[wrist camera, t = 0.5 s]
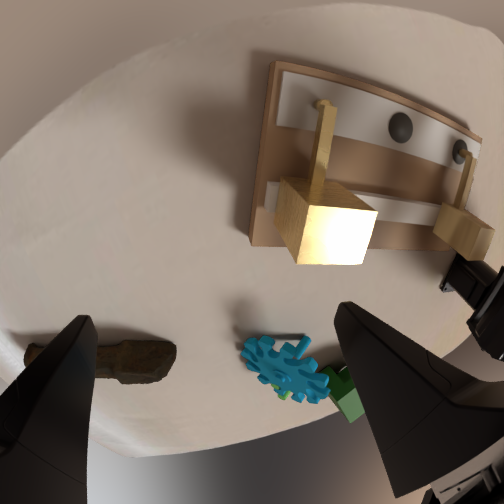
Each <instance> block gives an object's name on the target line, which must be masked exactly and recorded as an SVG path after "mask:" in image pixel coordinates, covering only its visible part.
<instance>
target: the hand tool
mask: <svg viewBox="0 0 504 504" xmlns="http://www.w3.org/2000/svg"><path fill="white" fill-rule="evenodd" d="M43 349H44V348H38V347H37V346H36V344H34V343H32V344H29V345H28V348H27V349H26V352H25V354H24V365H25V367H27V366H28V365H29V364H30V363H31V362H32V361H33V360H34V358H35V357H36V356H37V355H38V354H39V353H40V352H41V351H42V350H43ZM176 353H177V350H176V345H175V344H171V343H169V342H159V341H134V340H124V341H122V343H121V344H120V345H116V346H108V347H97V352H96V368H95V378H108V379H109V378H113V379H117V380H118V381H119V382H120V383H121V384H144V383H145V384H149V383H153V382H158V381H160V380H162V378H164V377H165V376H167V374H168V372H169V371H170V369H171V367H172V365H173V363H174V362H175V359H176Z"/></svg>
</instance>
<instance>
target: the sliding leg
mask: <svg viewBox="0 0 504 504" xmlns="http://www.w3.org/2000/svg"><path fill="white" fill-rule="evenodd" d="M313 106H314V108H315V109H316V110H317V111H319V112H318V118H317V125H316V131H315V137H314V143H313V149H312V155H311V160H310V166H309V172H308V177H307V179H304V178H294V177H284V176H281V178H280V185H279V191H278V197H277V204H276V210H275V216H274V222H273V223H274V225H275V227H276V228H277V230H278V232H279V234H280V235H281V237H282V239H283V241H284V243H285V244H286V246H287V248H288V250H289V252H290V253H291V255H292V257H293V259H294V261H295V262H296V264H361V263H362V260H363V257H364V254H365V251H366V248H367V245H368V242H369V239H370V236H371V233H372V229H373V226H374V223H375V220H376V216H377V213H378V212H377V211H376V210H375V209H373V208H372V207H371V206H369V205H368V204H367V203H365V202H364V201H363V200H361V199H360V198H359V197H357V196H356V195H354V194H353V193H352V192H350V191H349V190H347V189H346V188H345V187H343V186H342V185H340V184H339V183H337V182H329V181H324V180H325V175H326V170H327V165H328V159H329V154H330V149H331V143H332V138H333V132H334V126H335V120H336V114H337V107H333V103H332V102H331V101H330V100H328V99H317V100H315V101H314V103H313Z"/></svg>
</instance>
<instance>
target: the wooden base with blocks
mask: <svg viewBox="0 0 504 504" xmlns="http://www.w3.org/2000/svg"><path fill="white" fill-rule="evenodd" d="M317 99H328V100H330V101H331V102H332V103H333V107H337V114H336V120H335V126H334V132H333V138H332V143H331V149H330V154H329V159H328V165H327V170H326V175H325V180H324V181H329V182H337V183H339V184H340V185H342V186H343V187H345V188H346V189H347V190H349V191H350V192H352V193H353V194H354V195H356V196H357V197H359V198H360V199H361V200H363V201H364V202H365V203H367V204H368V205H369V206H371V207H372V208H373V209H375V210H376V211H377V212H378V213H377V216H376V220H375V223H374V226H373V229H372V233H371V236H370V239H369V242H368V245H367V248H366V249H396V250H431V251H449V249H450V246H451V247H452V248H453V249H454V250H456V251H457V252H458V253H459V254H460V255H462V256H463V257H464V258H465V259H466V260H467V261H474V260H484V257H485V255H486V253H487V250H488V248H489V246H490V243H491V241H492V238H493V236H494V233H495V229H493V228H492V227H490V226H489V225H488V224H486V223H485V222H483V221H482V220H480V219H479V218H477V217H476V216H474V215H473V214H471V213H470V212H468V211H467V210H465V209H464V208H465V205H466V202H467V199H468V195H469V192H470V189H471V185H472V181H473V178H474V174H475V170H476V166H477V162H478V157H479V153H480V148H481V143H482V138H481V137H479V136H477V135H476V134H474V133H473V132H471V131H469V130H467V129H466V128H464V127H462V126H461V125H459V124H457V123H455V122H453V121H452V120H450V119H448V118H446V117H444V116H442V115H440V114H438V113H436V112H434V111H432V110H430V109H428V108H426V107H424V106H422V105H420V104H417V103H415V102H413V101H411V100H408V99H406V98H404V97H401V96H399V95H396V94H394V93H391V92H389V91H386V90H384V89H381V88H378V87H376V86H373V85H370V84H367V83H364V82H361V81H358V80H355V79H352V78H348V77H345V76H342V75H338V74H335V73H331V72H327V71H324V70H320V69H316V68H311V67H307V66H303V65H298V64H293V63H288V62H283V61H277V60H276V61H274V62H272V63H270V70H269V78H268V85H267V93H266V101H265V108H264V116H263V124H262V131H261V139H260V147H259V155H258V163H257V170H256V178H255V186H254V194H253V202H252V210H251V218H250V226H249V234H248V237H249V240H250V243H251V246H265V247H287V246H286V244H285V243H284V241H283V239H282V237H281V235H280V234H279V232H278V230H277V228H276V227H275V225H274V223H273V222H274V216H275V210H276V204H277V197H278V191H279V185H280V178H281V176H284V177H294V178H304V179H307V177H308V172H309V166H310V160H311V155H312V149H313V143H314V137H315V131H316V125H317V118H318V112H319V111H317V110H316V109H315V108H314V106H313V103H314V101H315V100H317Z"/></svg>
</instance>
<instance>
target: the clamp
mask: <svg viewBox="0 0 504 504" xmlns="http://www.w3.org/2000/svg"><path fill="white" fill-rule="evenodd" d="M320 373H322V374H326V375H328V376H329V381H328V383H327V385H326V387H327V388H329V389H330V390H331V391H330V392H329V394H328V396H329V397H330V399H331V400H332V401H333V403H334V404H335V405H336V406H337V408H338V409H339V410H340V411H341V413H342V414H343V415H344V416H345V417H346V419H347V420H348V421H349V422H350V423H352V422H353V421H354V420H356V419H357V418H358V417H360V416H361V415H362V414H363V413H365V411H364V408H363V406H362V403H361V400H360V398H359V395H358V393H357V390H356V388H355V385H354V383H353V380H352V378H351V375H350V373H349V370H348V368H347V367H346V368H344V369H343V370H342V371H341V372H339V373H338V374H336V373H335V372H334V371H333V370H332V369H331V368H330V367H329V366H327V367H326V368H325V369H324V370H322V371H321V372H320Z"/></svg>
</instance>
